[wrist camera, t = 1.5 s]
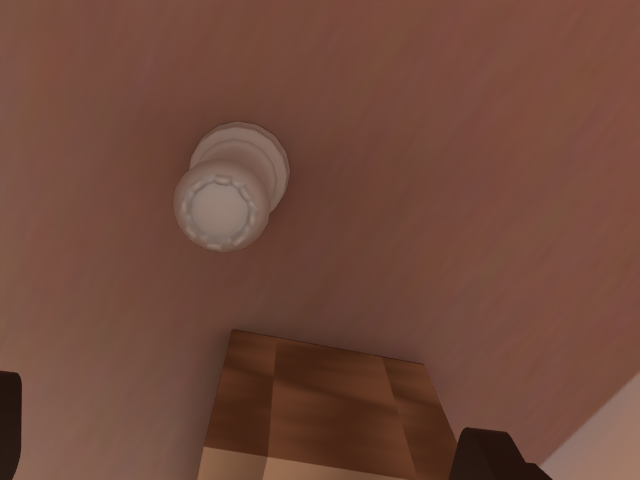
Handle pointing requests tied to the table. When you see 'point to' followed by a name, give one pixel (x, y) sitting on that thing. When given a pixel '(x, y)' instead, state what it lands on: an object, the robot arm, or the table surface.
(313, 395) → the socket block
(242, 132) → the rook chess piece
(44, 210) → the table surface
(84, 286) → the table surface
